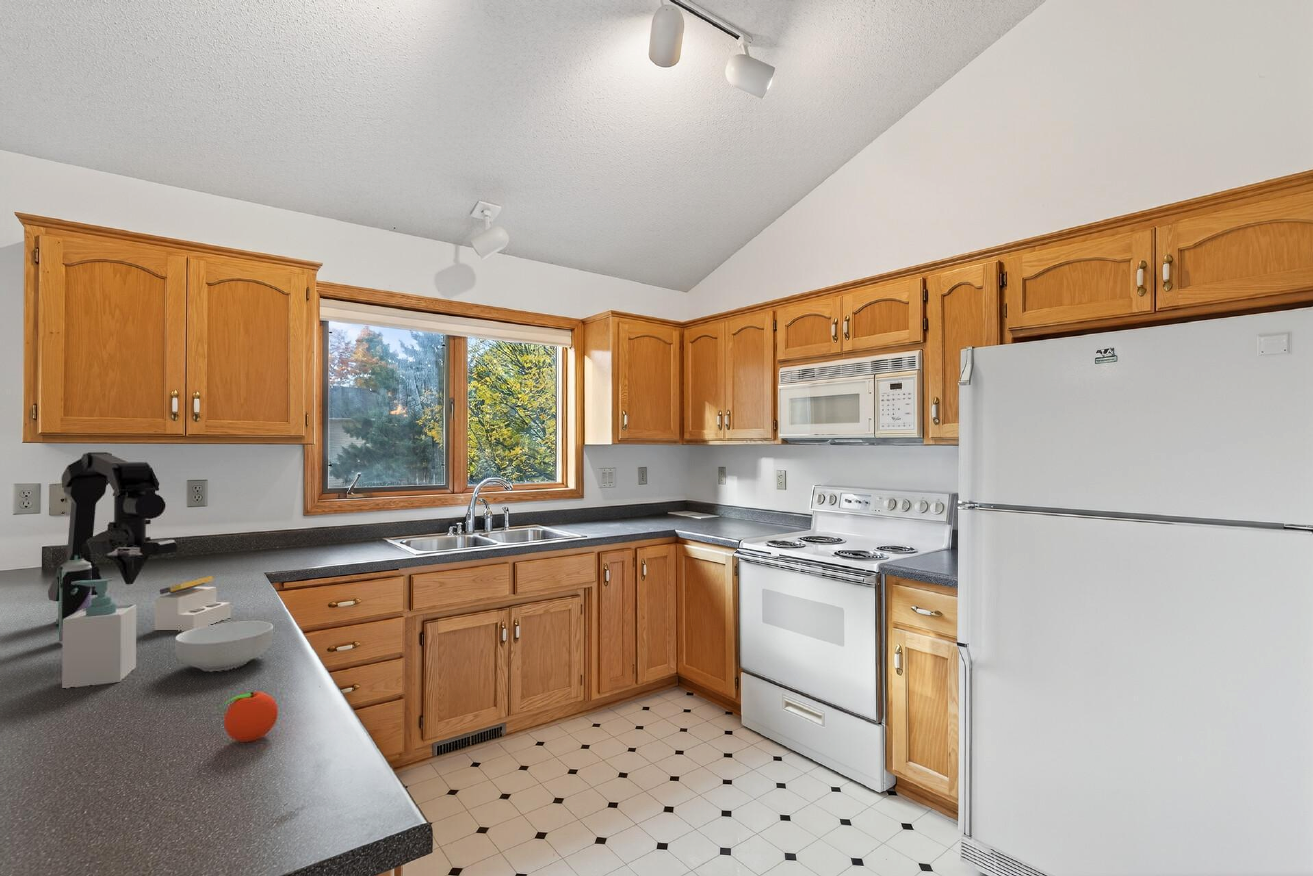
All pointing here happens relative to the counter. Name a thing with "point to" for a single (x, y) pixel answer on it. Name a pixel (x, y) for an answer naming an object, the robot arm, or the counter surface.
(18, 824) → the counter surface
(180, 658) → the cereal bowl
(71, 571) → the spray can
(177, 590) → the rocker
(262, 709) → the clementine
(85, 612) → the soap bottle
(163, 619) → the stepped slotted block
